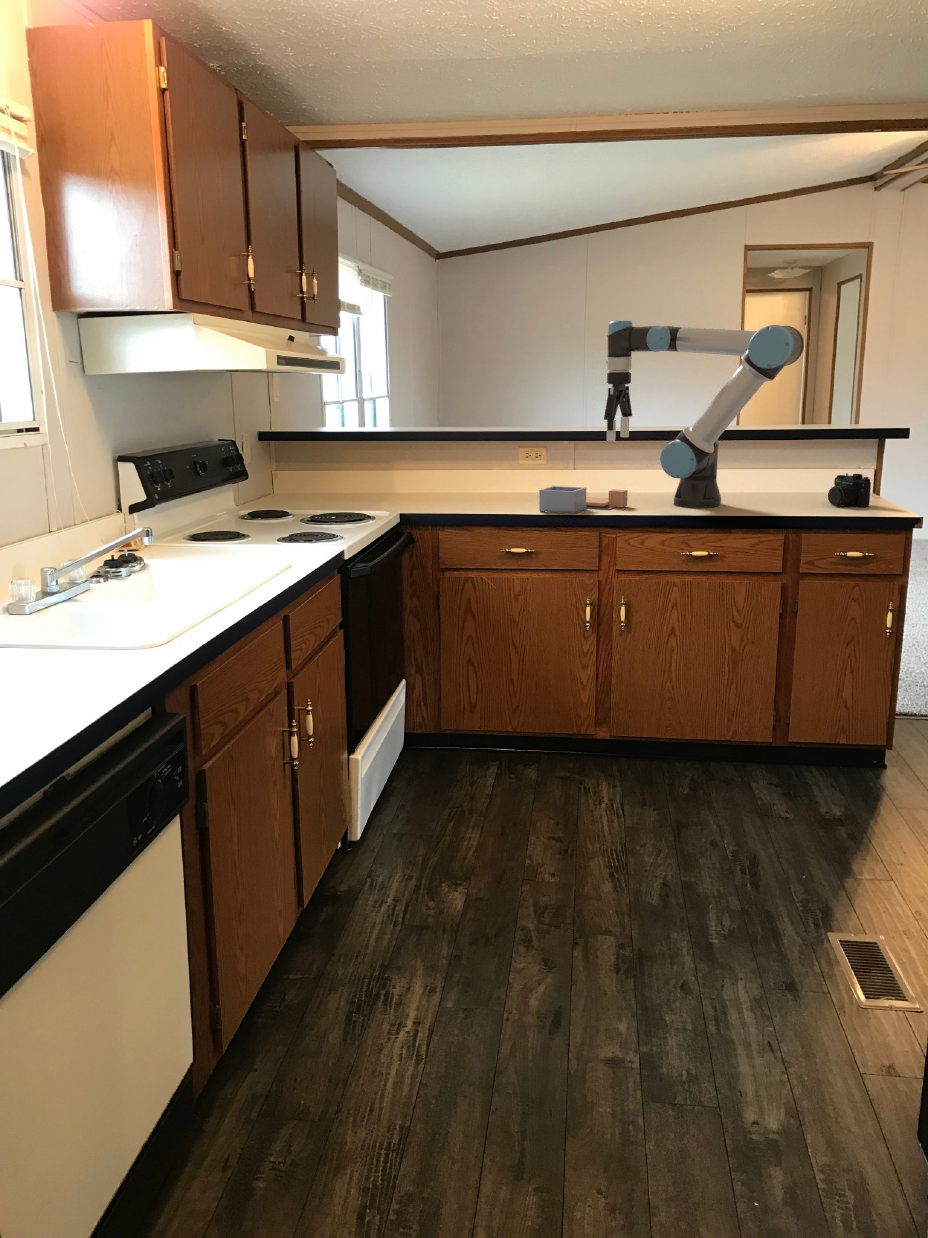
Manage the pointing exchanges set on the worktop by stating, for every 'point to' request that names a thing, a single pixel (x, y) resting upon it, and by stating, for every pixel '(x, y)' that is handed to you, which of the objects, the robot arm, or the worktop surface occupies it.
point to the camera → (850, 491)
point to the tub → (562, 499)
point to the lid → (609, 499)
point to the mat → (600, 507)
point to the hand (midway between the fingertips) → (617, 438)
